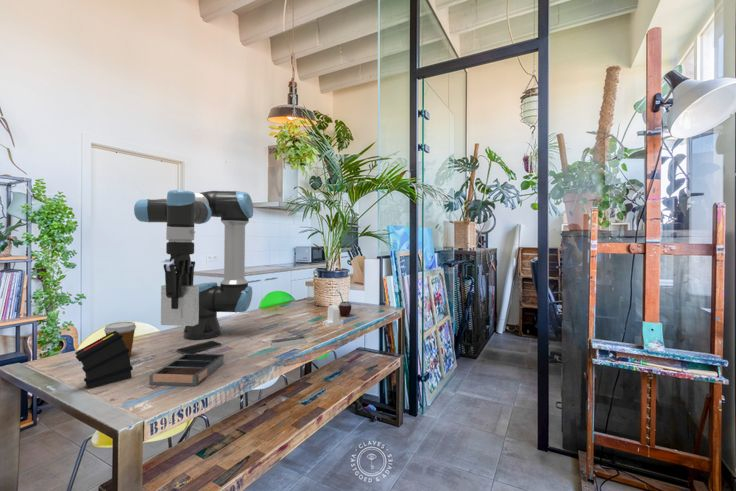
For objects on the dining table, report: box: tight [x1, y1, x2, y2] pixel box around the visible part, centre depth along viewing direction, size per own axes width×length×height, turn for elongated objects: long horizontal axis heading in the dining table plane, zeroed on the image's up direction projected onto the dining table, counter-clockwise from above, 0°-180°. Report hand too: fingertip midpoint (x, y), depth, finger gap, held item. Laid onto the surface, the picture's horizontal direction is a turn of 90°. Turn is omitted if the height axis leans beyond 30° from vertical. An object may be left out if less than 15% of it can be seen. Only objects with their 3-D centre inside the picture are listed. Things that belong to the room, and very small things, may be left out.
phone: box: [176, 340, 222, 355], centre depth 136 cm, size 8×1×15 cm
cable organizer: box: [322, 304, 344, 328], centre depth 178 cm, size 5×10×10 cm, turn 130°
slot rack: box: [149, 353, 225, 387], centre depth 112 cm, size 14×19×3 cm
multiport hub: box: [269, 335, 307, 349], centre depth 145 cm, size 4×14×2 cm, turn 123°
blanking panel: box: [160, 284, 199, 327], centre depth 105 cm, size 10×3×12 cm, turn 89°
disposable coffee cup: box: [103, 321, 137, 357], centre depth 124 cm, size 10×10×12 cm
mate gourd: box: [336, 289, 352, 318], centre depth 197 cm, size 8×8×15 cm
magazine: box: [74, 331, 134, 389], centre depth 104 cm, size 4×13×15 cm, turn 140°
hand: (179, 317), depth 106 cm, fingers closed on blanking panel, 3 cm apart
